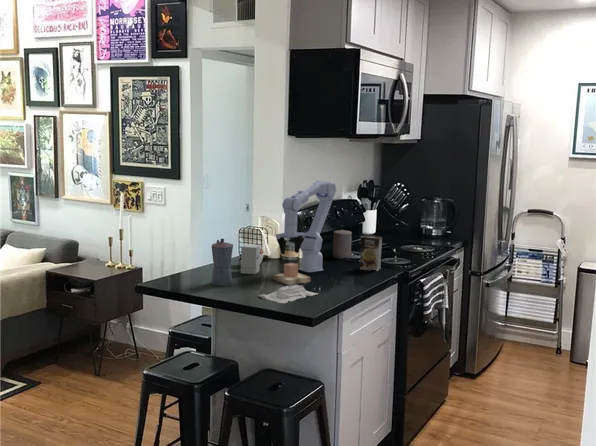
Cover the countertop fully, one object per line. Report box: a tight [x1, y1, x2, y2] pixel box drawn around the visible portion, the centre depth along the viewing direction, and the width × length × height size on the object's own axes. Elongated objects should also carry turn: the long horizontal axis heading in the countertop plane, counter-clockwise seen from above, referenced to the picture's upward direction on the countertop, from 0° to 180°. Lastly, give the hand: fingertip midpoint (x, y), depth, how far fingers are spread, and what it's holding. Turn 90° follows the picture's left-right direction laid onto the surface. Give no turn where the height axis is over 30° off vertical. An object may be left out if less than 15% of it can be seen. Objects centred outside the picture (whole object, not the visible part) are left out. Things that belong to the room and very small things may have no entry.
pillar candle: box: [332, 228, 353, 260], centre depth 331 cm, size 10×10×15 cm
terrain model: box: [258, 284, 319, 304], centre depth 252 cm, size 17×23×5 cm
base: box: [272, 272, 311, 286], centre depth 277 cm, size 12×12×2 cm
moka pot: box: [210, 238, 234, 287], centre depth 267 cm, size 10×15×20 cm, turn 27°
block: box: [283, 262, 299, 277], centre depth 277 cm, size 4×4×5 cm
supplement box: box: [240, 244, 261, 275], centre depth 290 cm, size 7×7×13 cm
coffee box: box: [359, 235, 383, 272], centre depth 303 cm, size 9×6×16 cm
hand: (289, 253), depth 285 cm, fingers open, 7 cm apart
